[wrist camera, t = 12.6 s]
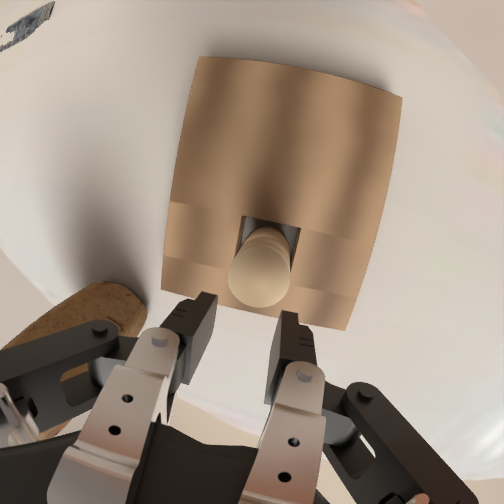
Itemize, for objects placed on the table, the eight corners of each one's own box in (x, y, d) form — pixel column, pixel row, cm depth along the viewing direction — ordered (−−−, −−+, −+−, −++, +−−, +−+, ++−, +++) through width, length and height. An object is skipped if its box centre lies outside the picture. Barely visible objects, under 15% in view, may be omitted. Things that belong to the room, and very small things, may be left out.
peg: (293, 226, 26) (297, 255, 16) (284, 265, 27) (282, 314, 17) (252, 217, 26) (232, 241, 16) (244, 256, 27) (222, 300, 18)
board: (391, 104, 21) (402, 97, 19) (339, 316, 28) (344, 330, 25) (208, 67, 23) (199, 56, 20) (172, 278, 29) (160, 289, 26)
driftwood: (61, 0, 20) (54, -4, 18) (46, 32, 22) (38, 29, 20) (3, 32, 22) (-3, 30, 20) (-8, 59, 24) (-14, 58, 22)
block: (111, 265, 29) (-24, 351, 10) (159, 306, 30) (48, 433, 11) (85, 322, 32) (-12, 407, 13) (126, 357, 33) (43, 462, 14)
